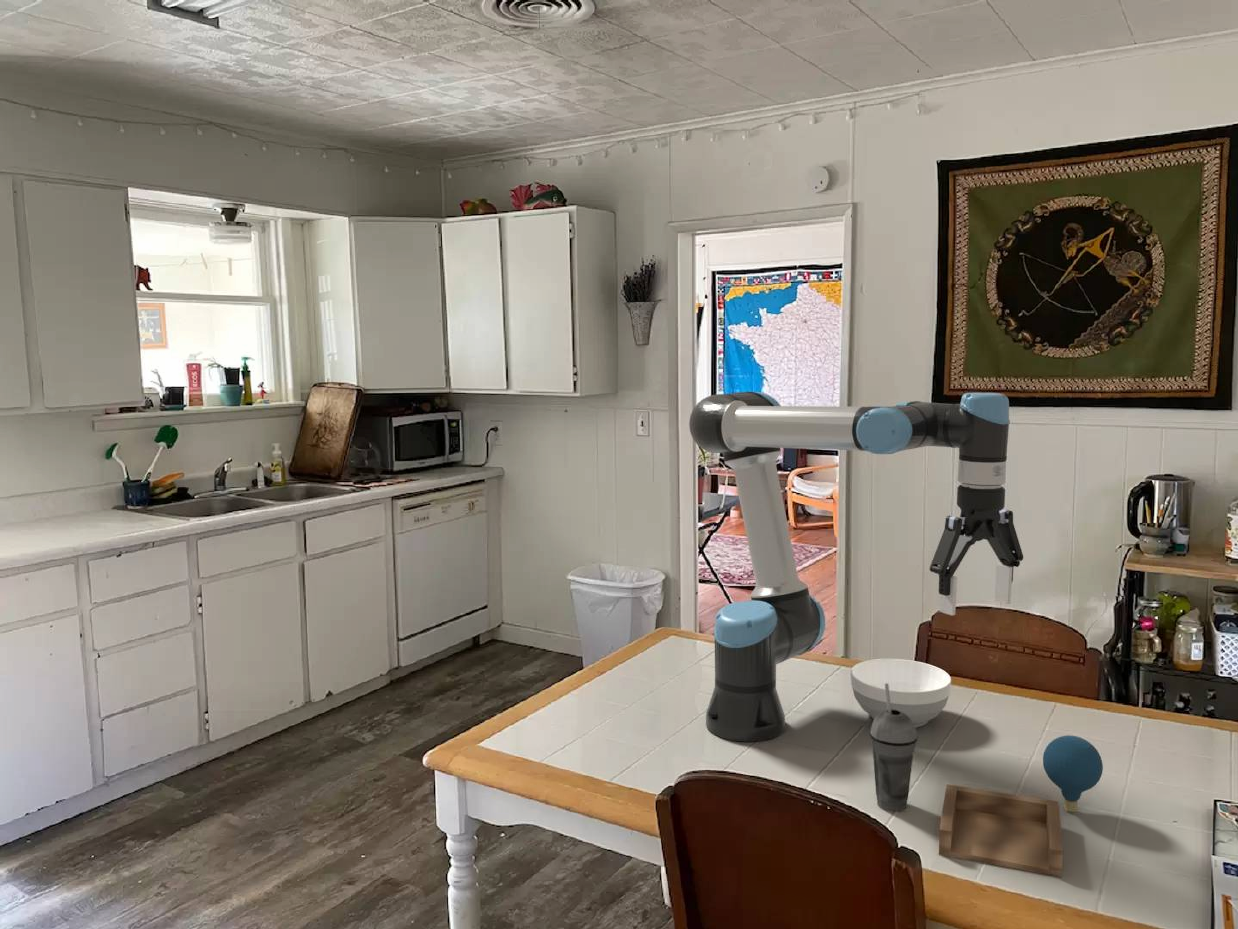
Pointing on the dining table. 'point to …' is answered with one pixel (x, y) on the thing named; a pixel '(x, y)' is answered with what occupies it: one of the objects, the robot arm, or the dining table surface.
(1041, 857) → the u rest
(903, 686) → the bowl
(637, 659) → the dining table surface
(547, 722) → the dining table surface
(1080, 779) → the light bulb
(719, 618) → the robot arm
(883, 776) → the beverage cup
